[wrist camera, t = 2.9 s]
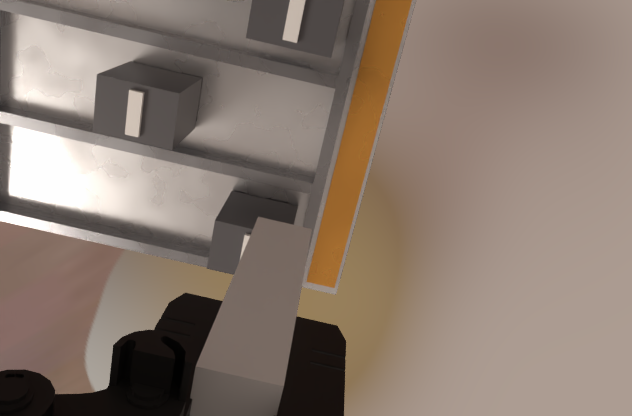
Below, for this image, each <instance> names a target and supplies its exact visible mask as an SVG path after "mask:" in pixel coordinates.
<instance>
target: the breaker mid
mask: <svg viewBox="0 0 632 416" xmlns="http://www.w3.org/2000/svg"><path fill="white" fill-rule="evenodd" d="M201 83H202V78H200V77H195V76H191V75H187V74H183V73H178V72H174V71H170V70H166V69H161V68H157V67H153V66H149V65H144V64H140V63H136V62H132V61H130V62H127V63H125V64H122V65H119V66H117V67H114V68H112V69H109V70H106V71H104V72H101V73H99V74H97V80H96V93H95V106H94V119H93V132H95V133H99V134H103V135H108V136H112V137H116V138H121V139H125V140H129V141H134V142H138V143H142V144H147V145H151V146H155V147H160V148H164V149H168V150H173V149H174V148H175V147H176V146H177V145H178V144H179V143H180V142H181V141H182V140H183V139H184V138H185V137H186V136H188V135H189V134H190V133H191V132H192V131H193V130H194V129H195V125H196V118H197V111H198V104H199V97H200V90H201Z"/></svg>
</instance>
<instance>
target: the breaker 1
mask: <svg viewBox="0 0 632 416" xmlns="http://www.w3.org/2000/svg"><path fill="white" fill-rule="evenodd" d="M344 2H345V0H252V4H251V10H250V16H249V22H248V28H247V34H246V38H248V39H252V40H256V41H260V42H265V43H269V44H273V45H277V46H281V47H286V48H290V49H294V50H298V51H303V52H307V53H311V54H315V55H319V56H324V57H328V58H331V57H332V53H333V50H334V46H335V42H336V37H337V33H338V28H339V24H340V20H341V15H342V11H343V7H344Z"/></svg>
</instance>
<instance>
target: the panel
mask: <svg viewBox="0 0 632 416" xmlns="http://www.w3.org/2000/svg"><path fill="white" fill-rule="evenodd" d="M415 3H416V0H345V2H344V7H343V11H342V15H341V20H340V24H339V28H338V33H337V37H336V42H335V46H334V50H333V53H332V57H331V58H328V57H324V56H319V55H315V54H311V53H307V52H303V51H298V50H294V49H290V48H286V47H281V46H277V45H273V44H269V43H265V42H260V41H256V40H252V39H248V38H246V34H247V28H248V22H249V16H250V10H251V4H252V0H0V221H4V222H8V223H12V224H17V225H21V226H26V227H30V228H35V229H39V230H43V231H48V232H52V233H57V234H61V235H65V236H70V237H74V238H79V239H83V240H88V241H92V242H96V243H101V244H105V245H110V246H114V247H118V248H123V249H127V250H132V251H136V252H141V253H145V254H150V255H154V256H159V257H163V258H167V259H171V260H176V261H180V262H185V263H189V264H194V265H198V266H203V267H207V264H208V258H209V252H210V246H211V240H212V235H213V229H214V223H215V219H216V218H217V216H218V214H219V212H220V211H221V209H222V207H223V205H224V204H225V202H226V200H227V198H228V197H229V195H230V193H231V191H235V192H239V193H243V194H248V195H252V196H256V197H261V198H265V199H269V200H274V201H278V202H283V203H287V204H291V205H296V206H298V208H297V213H296V217H295V222H294V225H297V226H301V227H305V228H309V229H312V232H311V238H310V243H309V249H308V254H307V260H306V266H305V271H304V277H303V282H302V287H304V288H309V289H313V290H318V291H322V292H326V293H331V294H336V293H337V289H338V285H339V281H340V278H341V274H342V271H343V267H344V263H345V259H346V256H347V252H348V249H349V245H350V241H351V238H352V234H353V230H354V227H355V223H356V219H357V216H358V212H359V208H360V205H361V201H362V197H363V193H364V189H365V186H366V183H367V179H368V175H369V172H370V168H371V164H372V160H373V157H374V153H375V150H376V146H377V142H378V139H379V135H380V131H381V128H382V124H383V120H384V117H385V113H386V109H387V106H388V102H389V98H390V95H391V91H392V87H393V83H394V80H395V76H396V73H397V69H398V65H399V61H400V58H401V54H402V50H403V47H404V43H405V39H406V35H407V32H408V28H409V25H410V21H411V17H412V13H413V10H414V6H415ZM130 61H132V62H136V63H140V64H144V65H149V66H153V67H157V68H161V69H166V70H170V71H174V72H178V73H183V74H187V75H191V76H195V77H200V78H202V83H201V90H200V97H199V104H198V111H197V118H196V125H195V129H194V130H193V131H192V132H191V133H190V134H189V135H188V136H186V137H185V138H184V139H183V140H182V141H181V142H180V143H179V144H178V145H177V146H176V147H175V148H174V149H173V150H168V149H164V148H160V147H155V146H151V145H147V144H142V143H138V142H134V141H129V140H125V139H121V138H116V137H112V136H108V135H103V134H99V133H95V132H93V119H94V106H95V93H96V80H97V74H99V73H101V72H104V71H106V70H109V69H112V68H114V67H117V66H119V65H122V64H125V63H127V62H130Z"/></svg>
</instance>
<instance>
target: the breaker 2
mask: <svg viewBox="0 0 632 416" xmlns="http://www.w3.org/2000/svg"><path fill="white" fill-rule="evenodd" d="M297 208H298V206H296V205H291V204H287V203H283V202H278V201H274V200H269V199H265V198H261V197H256V196H252V195H248V194H243V193H239V192H235V191H231V193H230V195H229V197H228V198H227V200H226V202H225V204H224V205H223V207H222V209H221V211H220V212H219V214H218V216H217V218H216V219H215V223H214V229H213V235H212V240H211V246H210V252H209V258H208V264H207V269H211V270H216V271H220V272H224V273H229V274H234V273H235V271H236V269H237V266H238V264H239V261H240V259H241V257H242V254H243V252H244V249H245V247H246V245H247V242H248V240H249V238H250V235H251V233H252V230H253V228H254V226H255V223H256V221H257V218H258V217H262V218H266V219H271V220H275V221H279V222H284V223H288V224H292V225H294V222H295V217H296V213H297Z"/></svg>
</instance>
